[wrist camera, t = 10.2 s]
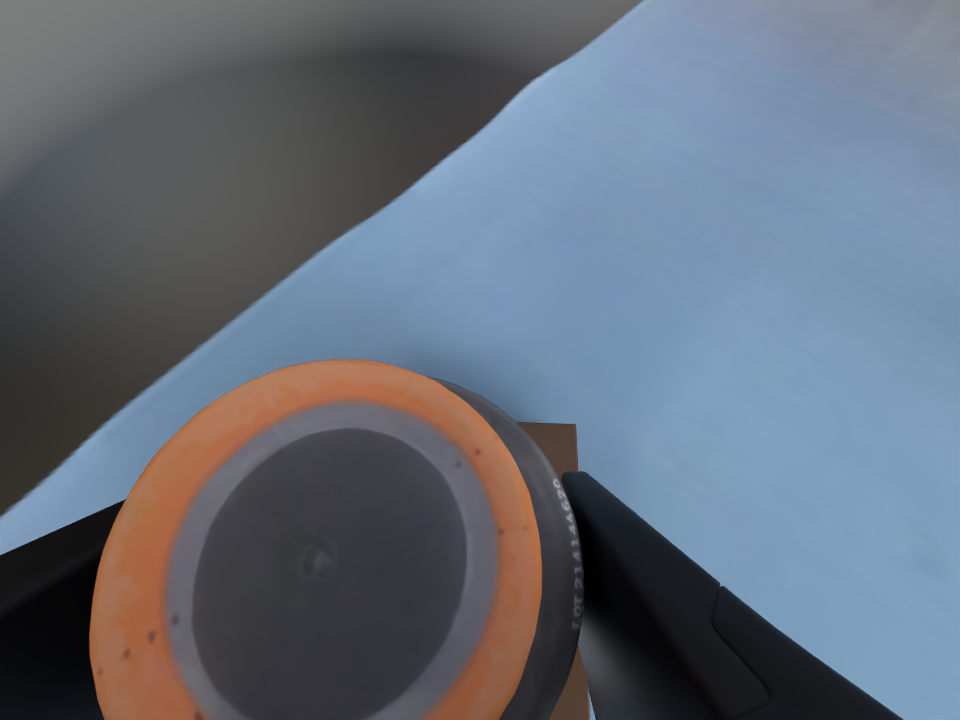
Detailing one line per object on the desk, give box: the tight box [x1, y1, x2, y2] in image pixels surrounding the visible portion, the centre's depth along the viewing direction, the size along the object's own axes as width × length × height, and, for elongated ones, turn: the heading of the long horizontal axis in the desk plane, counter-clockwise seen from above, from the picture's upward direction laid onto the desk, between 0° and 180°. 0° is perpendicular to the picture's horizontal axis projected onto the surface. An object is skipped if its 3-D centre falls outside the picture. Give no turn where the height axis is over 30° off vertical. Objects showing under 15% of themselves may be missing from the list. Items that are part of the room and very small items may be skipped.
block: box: [516, 422, 590, 720], centre depth 18 cm, size 10×10×4 cm
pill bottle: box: [89, 359, 584, 720], centre depth 9 cm, size 6×6×11 cm
